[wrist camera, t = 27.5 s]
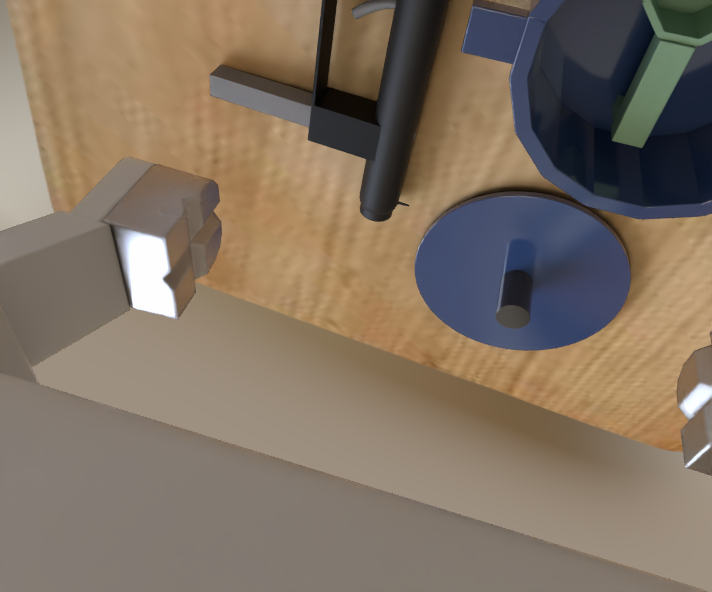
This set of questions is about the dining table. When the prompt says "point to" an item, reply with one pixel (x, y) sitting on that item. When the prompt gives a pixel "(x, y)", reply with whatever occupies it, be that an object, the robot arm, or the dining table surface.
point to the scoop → (660, 65)
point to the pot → (599, 104)
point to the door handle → (357, 98)
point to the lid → (522, 270)
